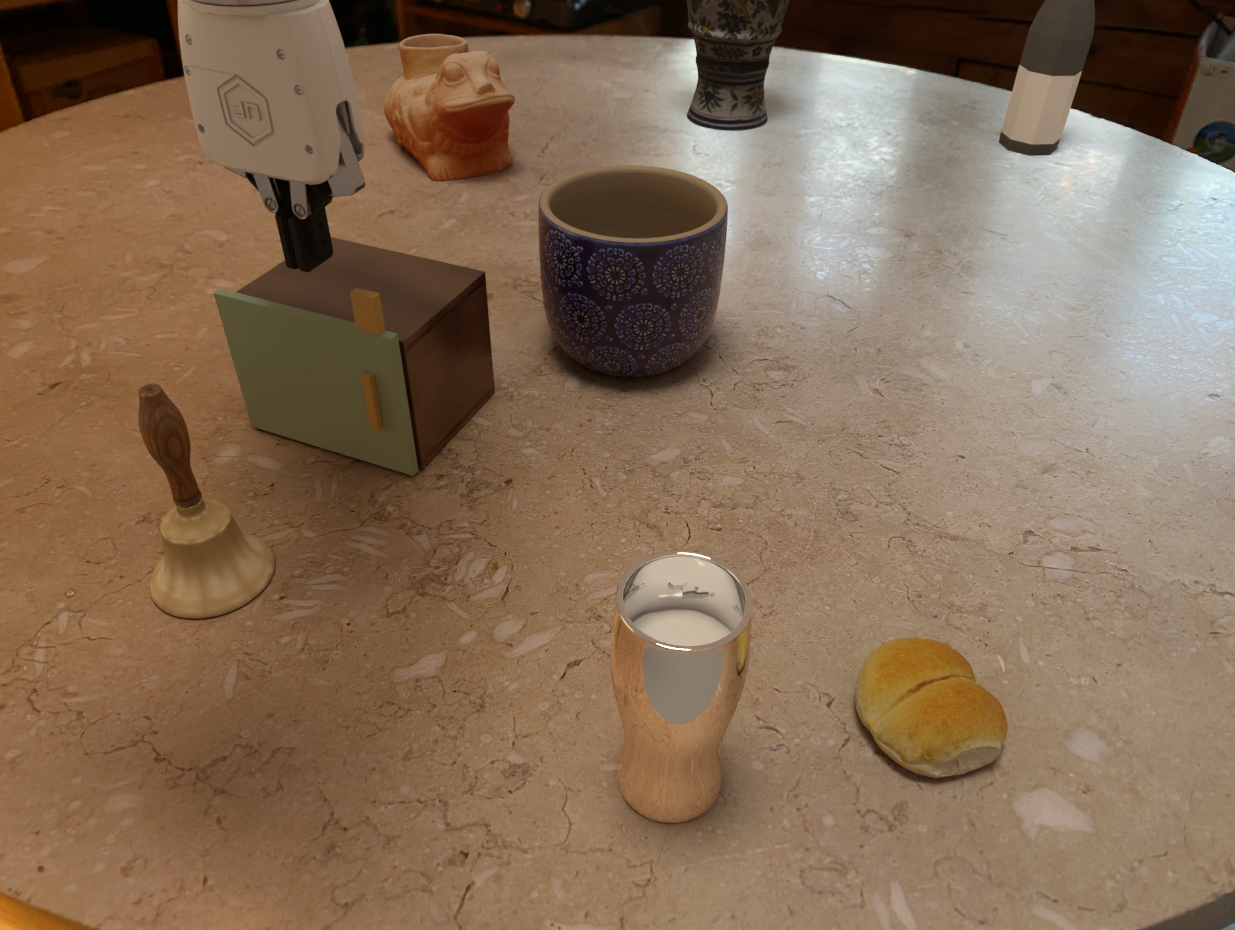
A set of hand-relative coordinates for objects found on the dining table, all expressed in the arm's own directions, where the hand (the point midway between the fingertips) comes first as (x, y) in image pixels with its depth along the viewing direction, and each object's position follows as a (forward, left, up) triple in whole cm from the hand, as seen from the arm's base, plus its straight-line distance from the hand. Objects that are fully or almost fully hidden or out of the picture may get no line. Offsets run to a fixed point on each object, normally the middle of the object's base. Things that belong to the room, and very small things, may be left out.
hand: (310, 261), depth 66 cm
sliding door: (0, +2, -17) cm, 17 cm away
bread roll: (-7, -47, -18) cm, 51 cm away
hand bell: (-15, +1, -18) cm, 23 cm away
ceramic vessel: (+61, +27, -18) cm, 69 cm away
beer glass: (-17, -34, -18) cm, 42 cm away
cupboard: (+7, +2, -17) cm, 19 cm away
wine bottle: (+99, -45, -18) cm, 110 cm away
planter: (+25, -14, -18) cm, 34 cm away
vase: (+92, -2, -18) cm, 93 cm away
